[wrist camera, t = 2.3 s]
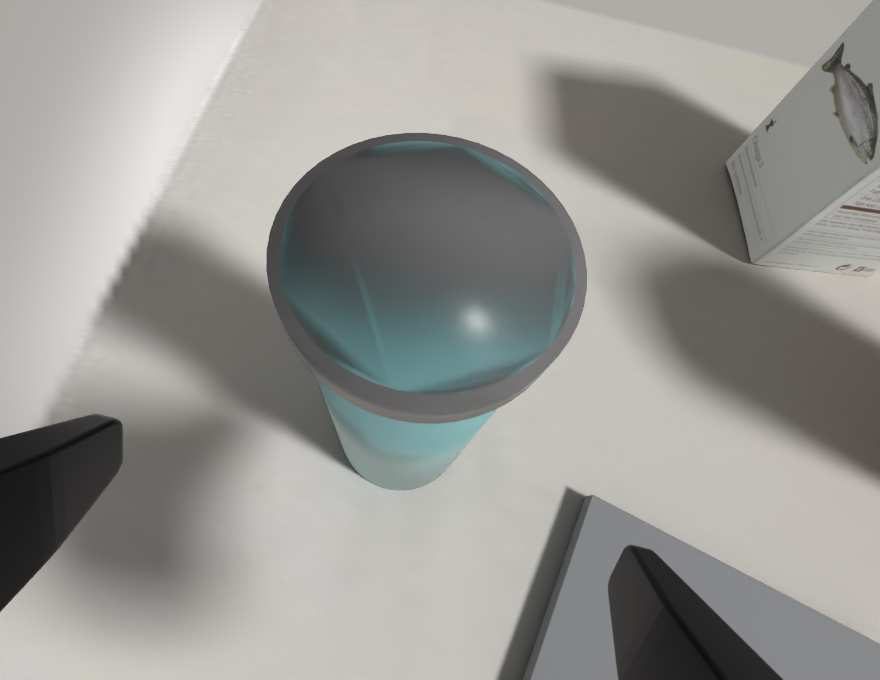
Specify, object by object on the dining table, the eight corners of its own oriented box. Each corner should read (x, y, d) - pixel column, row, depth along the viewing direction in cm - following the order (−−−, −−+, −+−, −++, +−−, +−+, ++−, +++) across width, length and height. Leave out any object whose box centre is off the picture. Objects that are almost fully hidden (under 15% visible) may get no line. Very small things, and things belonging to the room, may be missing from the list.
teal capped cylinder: (429, 520, 19) (516, 473, 7) (309, 455, 19) (194, 304, 7) (485, 402, 21) (625, 210, 9) (376, 346, 21) (371, 93, 9)
